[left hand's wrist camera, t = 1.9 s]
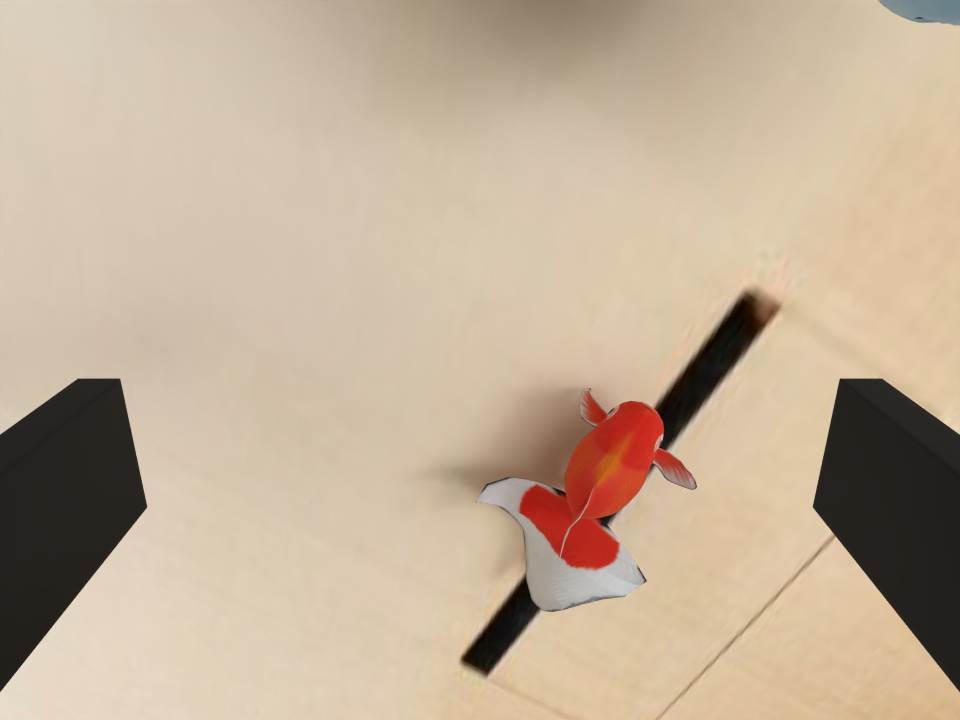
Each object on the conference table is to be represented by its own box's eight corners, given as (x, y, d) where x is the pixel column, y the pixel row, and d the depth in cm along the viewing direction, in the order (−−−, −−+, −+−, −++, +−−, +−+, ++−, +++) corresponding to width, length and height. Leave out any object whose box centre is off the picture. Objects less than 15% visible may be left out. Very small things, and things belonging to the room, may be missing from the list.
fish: (780, 477, 38) (740, 600, 30) (596, 572, 48) (532, 681, 40) (646, 334, 38) (574, 419, 31) (493, 458, 49) (411, 544, 41)
